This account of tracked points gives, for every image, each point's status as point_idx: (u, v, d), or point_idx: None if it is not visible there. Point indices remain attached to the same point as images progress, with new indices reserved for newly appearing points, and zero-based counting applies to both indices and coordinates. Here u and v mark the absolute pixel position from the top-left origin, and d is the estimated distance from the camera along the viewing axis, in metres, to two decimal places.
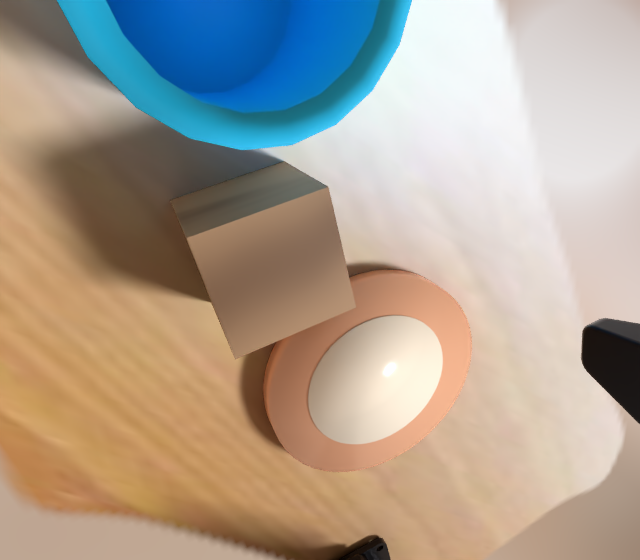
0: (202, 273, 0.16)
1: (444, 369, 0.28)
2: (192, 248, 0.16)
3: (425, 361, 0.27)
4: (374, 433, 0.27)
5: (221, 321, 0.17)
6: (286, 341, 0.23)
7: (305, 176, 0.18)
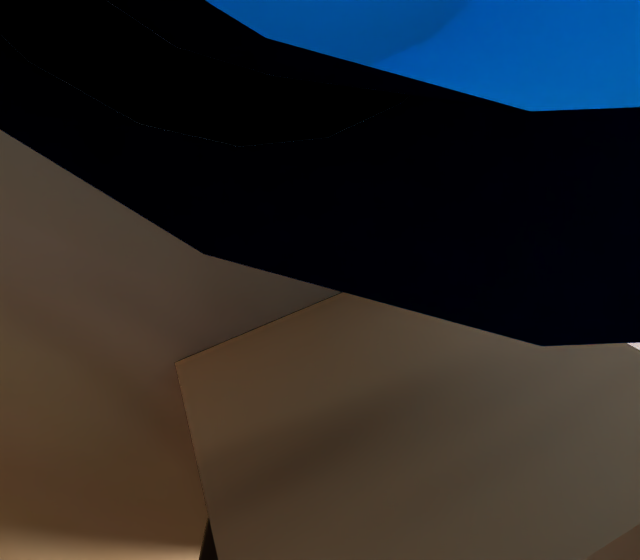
0: None
1: None
2: None
3: None
4: None
5: None
6: None
7: None
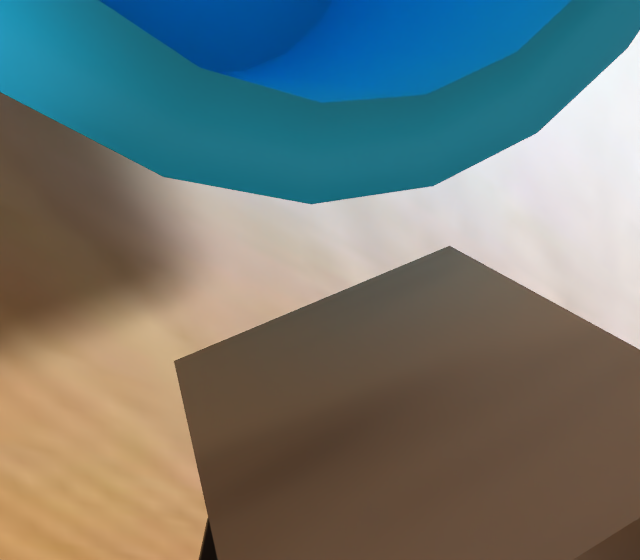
0: None
1: None
2: None
3: None
4: None
5: None
6: None
7: (590, 330, 0.06)
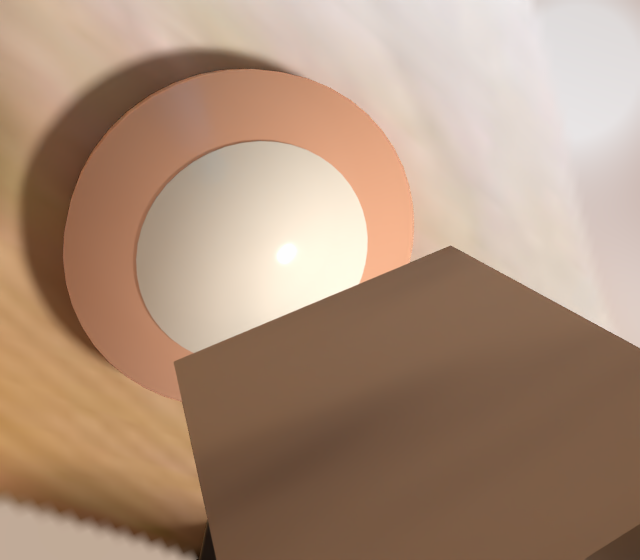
0: None
1: (371, 253, 0.18)
2: None
3: (339, 235, 0.17)
4: None
5: None
6: (86, 166, 0.14)
7: (593, 331, 0.06)
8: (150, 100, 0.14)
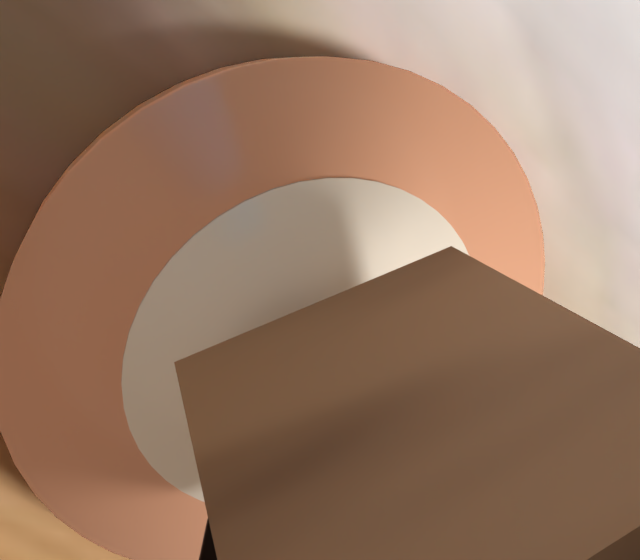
0: None
1: None
2: None
3: None
4: None
5: None
6: (26, 234, 0.08)
7: (594, 331, 0.06)
8: (139, 114, 0.07)
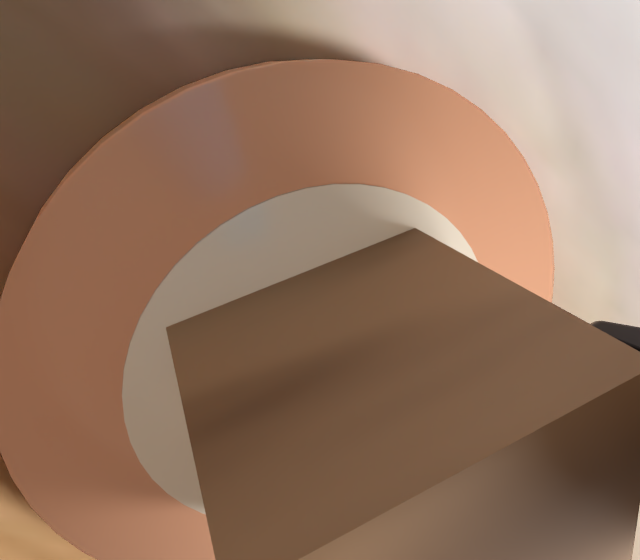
0: None
1: None
2: None
3: None
4: None
5: None
6: (24, 243, 0.08)
7: (522, 294, 0.07)
8: (140, 119, 0.07)
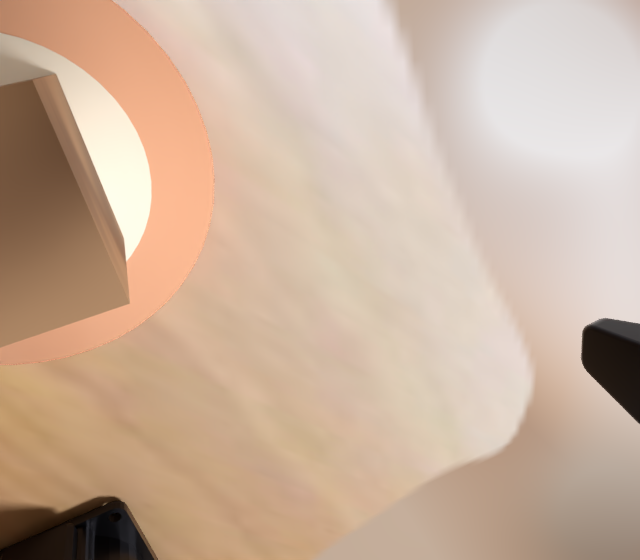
0: None
1: (160, 187, 0.16)
2: None
3: (111, 160, 0.15)
4: None
5: None
6: None
7: (37, 78, 0.11)
8: None
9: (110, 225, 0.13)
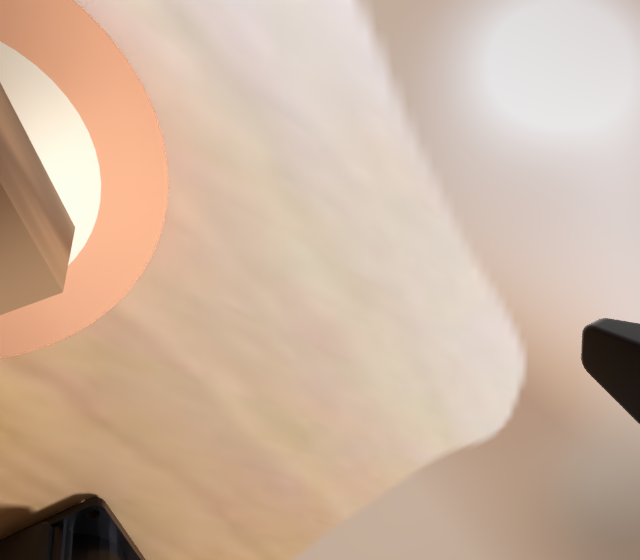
0: None
1: (109, 173, 0.15)
2: None
3: (54, 146, 0.14)
4: None
5: None
6: None
7: None
8: None
9: (49, 212, 0.13)
